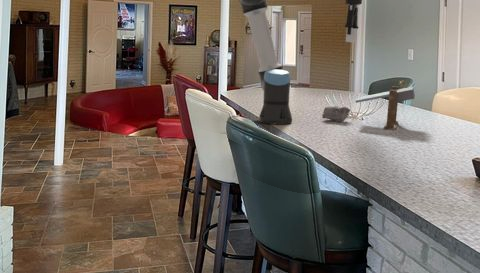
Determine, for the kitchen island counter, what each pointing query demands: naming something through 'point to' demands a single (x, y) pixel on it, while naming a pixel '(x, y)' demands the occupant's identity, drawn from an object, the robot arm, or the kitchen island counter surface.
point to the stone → (336, 113)
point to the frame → (392, 110)
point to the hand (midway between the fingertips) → (350, 42)
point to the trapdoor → (401, 95)
